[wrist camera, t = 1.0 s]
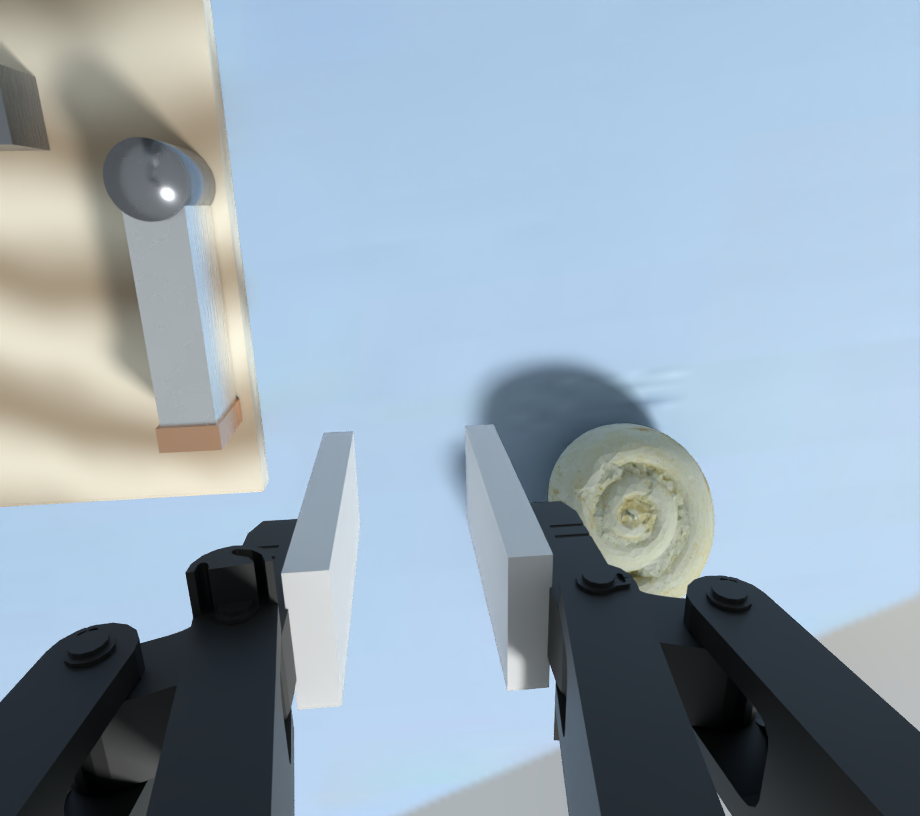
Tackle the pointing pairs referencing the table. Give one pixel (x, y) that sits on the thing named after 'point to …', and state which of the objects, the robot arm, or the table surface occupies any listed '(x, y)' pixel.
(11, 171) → the plate
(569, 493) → the seashell
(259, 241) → the table surface
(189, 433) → the bar
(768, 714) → the robot arm
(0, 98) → the block
